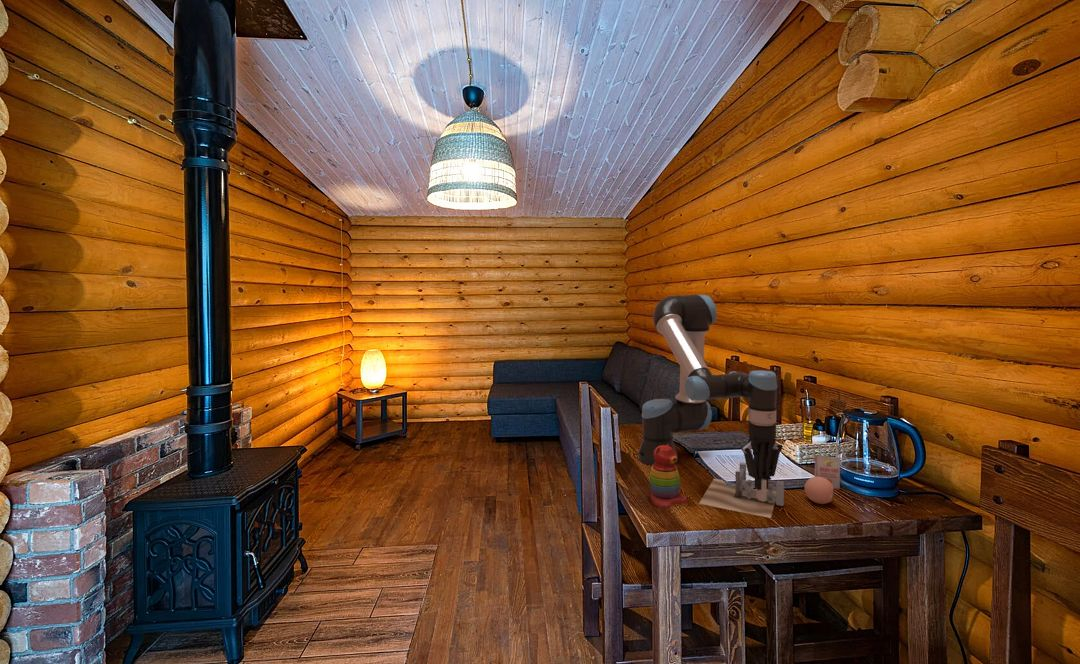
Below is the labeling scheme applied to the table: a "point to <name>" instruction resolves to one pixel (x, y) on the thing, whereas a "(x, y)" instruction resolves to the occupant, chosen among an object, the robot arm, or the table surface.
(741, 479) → the fixed fence panel
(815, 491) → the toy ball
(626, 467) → the table surface
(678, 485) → the stacking bear
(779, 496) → the gray castle wall
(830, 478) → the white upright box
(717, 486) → the board
